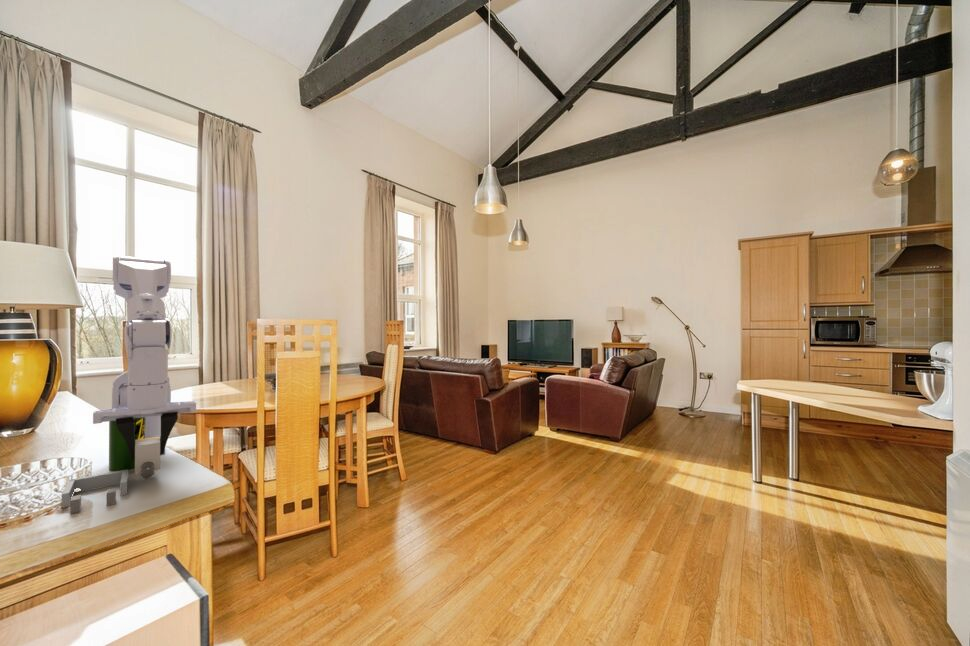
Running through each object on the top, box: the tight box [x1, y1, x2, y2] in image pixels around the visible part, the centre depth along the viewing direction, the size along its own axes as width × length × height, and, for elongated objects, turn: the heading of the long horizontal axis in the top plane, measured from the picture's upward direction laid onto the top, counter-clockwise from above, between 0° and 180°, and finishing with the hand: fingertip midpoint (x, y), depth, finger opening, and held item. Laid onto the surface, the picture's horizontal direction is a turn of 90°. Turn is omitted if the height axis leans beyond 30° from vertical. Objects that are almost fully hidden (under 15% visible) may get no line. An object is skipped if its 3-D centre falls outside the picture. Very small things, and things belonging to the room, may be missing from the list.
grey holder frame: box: [61, 469, 129, 515], centre depth 66 cm, size 11×8×2 cm
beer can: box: [108, 414, 146, 474], centre depth 77 cm, size 5×5×12 cm
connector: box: [134, 436, 161, 479], centre depth 72 cm, size 10×4×5 cm, turn 41°
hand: (147, 455), depth 74 cm, fingers closed on connector, 3 cm apart
